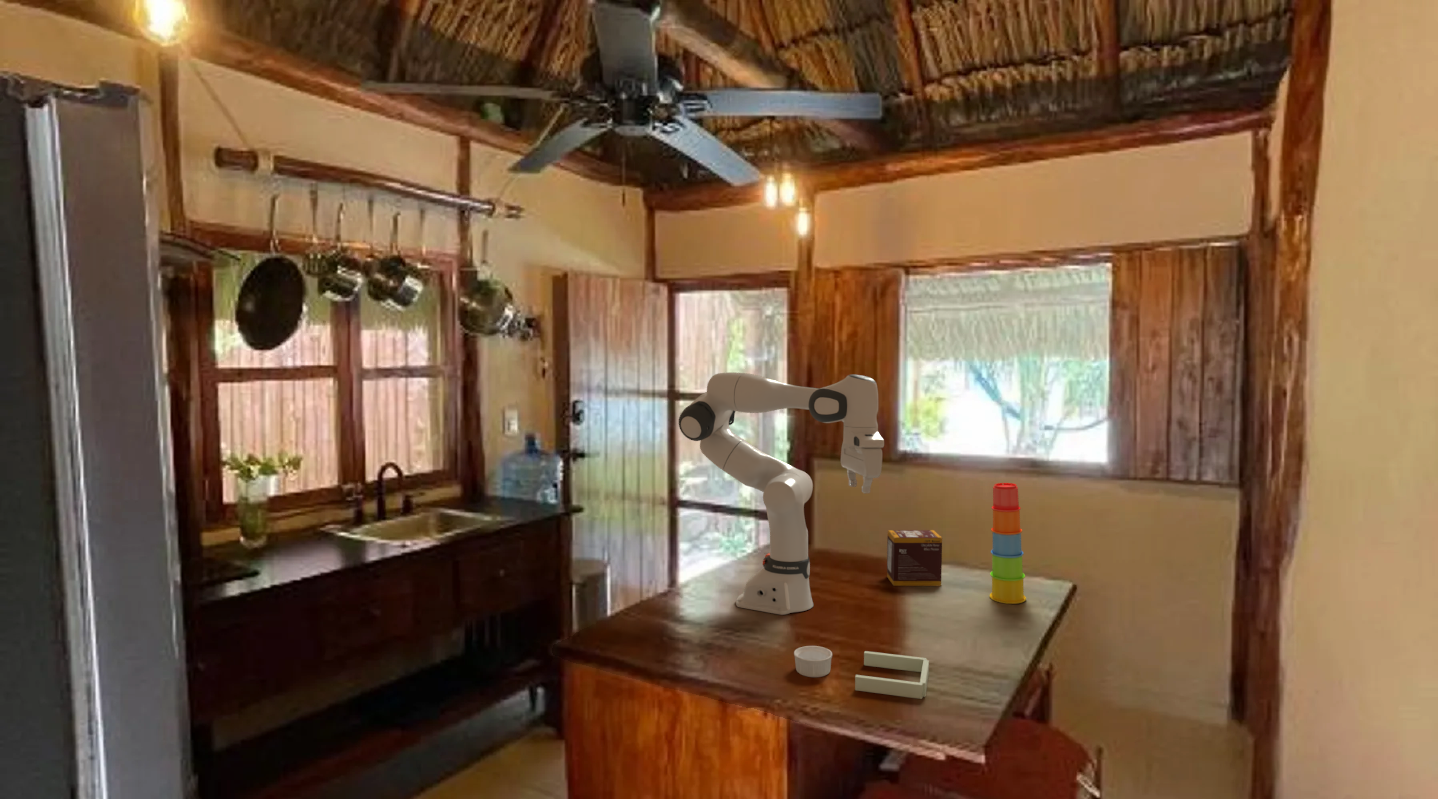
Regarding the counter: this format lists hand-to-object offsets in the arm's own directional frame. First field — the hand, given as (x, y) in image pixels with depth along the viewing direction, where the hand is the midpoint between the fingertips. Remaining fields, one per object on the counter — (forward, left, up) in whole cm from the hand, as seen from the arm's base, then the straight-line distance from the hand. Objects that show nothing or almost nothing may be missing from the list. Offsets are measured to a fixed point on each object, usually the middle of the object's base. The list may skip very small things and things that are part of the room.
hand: (859, 489), depth 205 cm
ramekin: (-6, -29, -38) cm, 48 cm away
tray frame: (+12, -29, -38) cm, 49 cm away
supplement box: (+11, +50, -38) cm, 64 cm away
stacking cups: (+39, +40, -38) cm, 67 cm away
